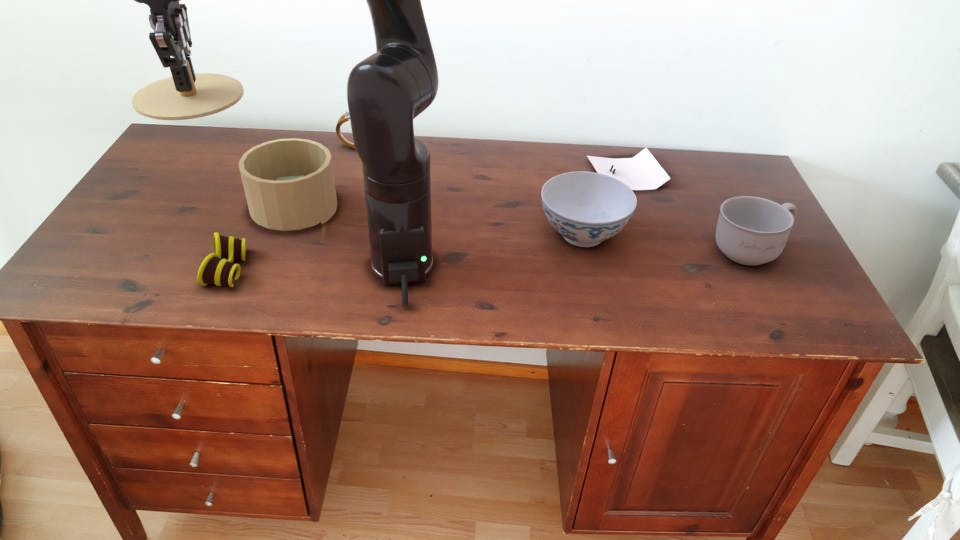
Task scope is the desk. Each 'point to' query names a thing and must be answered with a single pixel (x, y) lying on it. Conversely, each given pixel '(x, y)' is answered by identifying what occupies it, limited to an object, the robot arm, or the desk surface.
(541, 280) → the desk surface
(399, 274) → the robot arm
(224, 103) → the canister lid
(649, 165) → the folded paper
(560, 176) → the chinaware
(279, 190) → the canister
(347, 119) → the ring
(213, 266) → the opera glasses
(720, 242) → the teacup
